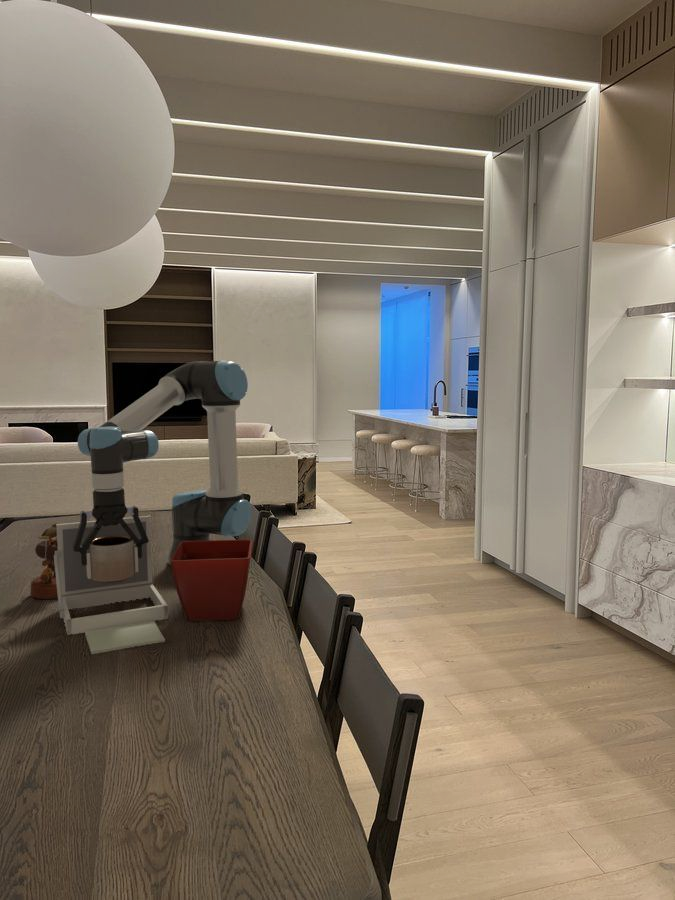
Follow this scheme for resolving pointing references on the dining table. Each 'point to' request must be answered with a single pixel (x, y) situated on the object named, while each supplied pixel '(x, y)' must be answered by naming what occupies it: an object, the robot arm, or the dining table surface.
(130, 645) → the mat
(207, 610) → the plant pot
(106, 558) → the planter
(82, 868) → the dining table surface
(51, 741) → the dining table surface
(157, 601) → the case
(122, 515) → the robot arm
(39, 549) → the music box
